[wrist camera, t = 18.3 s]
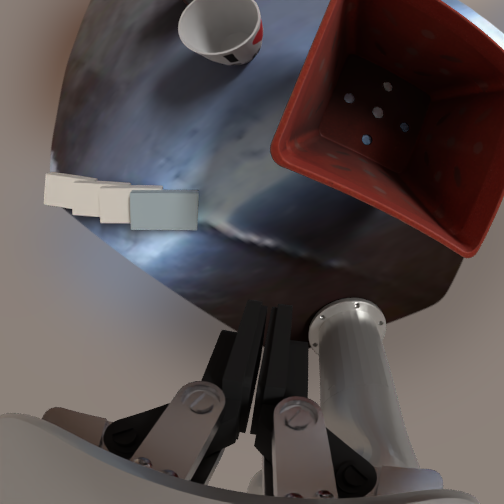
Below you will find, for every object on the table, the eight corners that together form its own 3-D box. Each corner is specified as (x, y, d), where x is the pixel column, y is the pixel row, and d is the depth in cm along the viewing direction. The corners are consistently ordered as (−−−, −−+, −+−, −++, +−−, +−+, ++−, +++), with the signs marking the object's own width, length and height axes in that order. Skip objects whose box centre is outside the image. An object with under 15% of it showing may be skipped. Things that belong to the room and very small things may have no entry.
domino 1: (89, 212, 38) (43, 204, 35) (93, 208, 40) (49, 200, 37) (93, 180, 36) (46, 174, 34) (97, 178, 38) (51, 171, 35)
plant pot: (409, 211, 33) (473, 264, 18) (279, 150, 33) (264, 160, 18) (455, 92, 25) (535, 81, 10) (330, 24, 25) (349, -46, 10)
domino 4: (196, 230, 37) (131, 229, 35) (196, 225, 39) (133, 224, 37) (198, 193, 35) (129, 193, 33) (198, 190, 37) (132, 189, 35)
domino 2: (126, 219, 38) (72, 214, 36) (128, 214, 40) (77, 210, 37) (128, 185, 36) (72, 182, 34) (130, 182, 38) (77, 179, 35)
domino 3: (160, 223, 38) (100, 223, 35) (161, 219, 39) (104, 218, 37) (161, 188, 36) (99, 188, 33) (162, 185, 37) (103, 185, 35)
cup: (237, 87, 31) (215, 70, 22) (195, 51, 29) (163, 29, 20) (284, 46, 28) (278, 16, 19) (239, 12, 26) (219, -22, 17)
